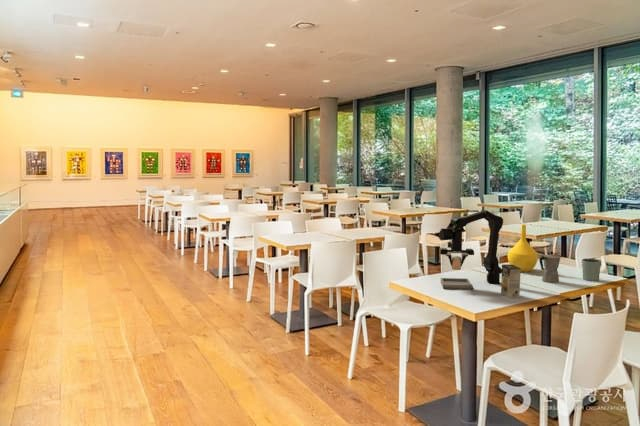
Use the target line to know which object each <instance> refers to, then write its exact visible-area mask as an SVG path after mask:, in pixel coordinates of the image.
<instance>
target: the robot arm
mask: <svg viewBox="0 0 640 426" xmlns="http://www.w3.org/2000/svg"><path fill="white" fill-rule="evenodd" d="M482 219H484V220H485V221H487V226H488V228H489V239H488V247H487V248H488V251H487V255H486V256H483V262H482V265H483V268H484V269H485V271H486V272H487V274H486V282H487V283H488V284H492V285H493V284H495V285H496V284H497V285H498V284H501V280H500V278H501V277H500V276H501V275H502V267H500V265H499V264H500V263H499V259H498V256H497V254H498V246H499V245H498V244H499V235H500V231H501V229H502V228H503V225H504V218H503V217H502V216H499V215H496V214H494V213H493V212H490V211H489V210H485V209H482V210H480V211H477V212H474V213H471V214H468V215H465V216H455V217H451V219H450V222H449V223H448V225H447V227H446V228H443V227H442V228H440V230H439V232H438V239H439V240H440V241H447V248H445V247H444V248H443V247H440V248H439V254H440V255H445V256H446V257H447V258H448V260H449V264H450V267H452V257H453V256H452V254H461V256H460V257H461V268H462V267H463V264H464V263H465V260H466V258H467V257H469V256H474V255H475V251H474V249H473V248H465V249H463V232H466V229H465V228H464V227H466V226H467V225H468V224H470V223H473V222H476V221H479V220H482ZM500 274H501V275H500Z"/></svg>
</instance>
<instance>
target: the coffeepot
mask: <svg viewBox="0 0 640 426" xmlns="http://www.w3.org/2000/svg"><path fill="white" fill-rule="evenodd" d="M561 258H562V257H561V256H560V255H557V254H556V255H555V254H554V251H552V250H551V251H550V254H544V255H542V256H540V258H538V259H539V260H538V261H539V265H540V269H541V270H542V271H543V275H542V280H541V281H542V282H543V283H548V284H558V283H559V282H560V278H559V271H558V269H559V265H560V261H561Z"/></svg>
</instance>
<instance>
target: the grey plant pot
mask: <svg viewBox="0 0 640 426" xmlns="http://www.w3.org/2000/svg"><path fill="white" fill-rule="evenodd" d="M601 266H602V260H600V259H598V258H597V259H596V258H582V259H581V267H582V279H583V281H586V282H592V281H596V282H599V281H600V274H601Z"/></svg>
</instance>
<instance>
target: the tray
mask: <svg viewBox="0 0 640 426" xmlns="http://www.w3.org/2000/svg"><path fill="white" fill-rule="evenodd" d="M440 285H441V287H442V289H443V290H466V291H467V290H468V291H469V290H473V285H472V282H471V281H470V280H469V278H459V277H458V278H457V277H456V278H455V277H454V278H453V277H449V278H448V277H441V278H440Z"/></svg>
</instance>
